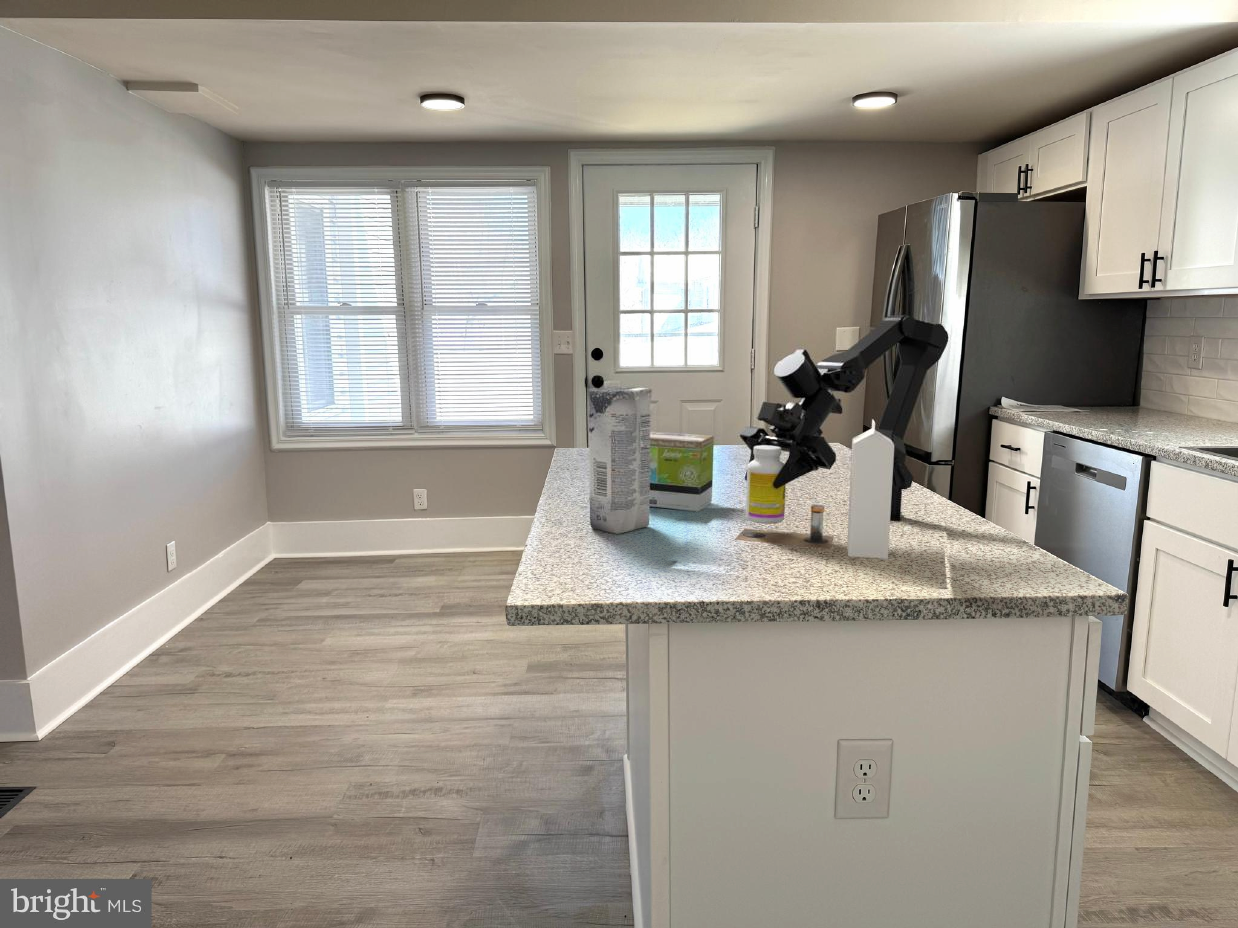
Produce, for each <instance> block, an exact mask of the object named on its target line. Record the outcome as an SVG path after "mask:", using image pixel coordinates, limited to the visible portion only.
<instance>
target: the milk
mask: <svg viewBox="0 0 1238 928" xmlns="http://www.w3.org/2000/svg"><path fill="white" fill-rule="evenodd" d="M850 456H851V458H850V460H851V461H850V476H849V477H850V481H849V503H848V520H847V521H848V523H847V541H846V549H847V556H848V557H855V558H871V559H885V560H886V559H889V547H890V545H889V544H890V529H891V527H890V526H891V520H890V512H891V495H892V477H893V459H894V444H893V442H892V441H891V439H889V438H887V437H886V436H884V435H882V434H881V433H879V432H877V430H876V422H875V420H874V419H871V428H870V429H868V430H866V431H864V432H862V433H861V434H859V435H856V436H854V437H853V438H852V439H851V455H850Z"/></svg>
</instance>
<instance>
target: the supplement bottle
mask: <svg viewBox="0 0 1238 928" xmlns="http://www.w3.org/2000/svg"><path fill="white" fill-rule="evenodd" d="M753 453H754V456H755V458H754V460H753V461H751V462H750V463H749V462H748V464H747V467H746V471H747V481H746V497H745V518H746V519H747V520H748V521H749V522H752V523H754V524H755V523H757V524H764V525H767V524H771V525H772V524H779V523H781V522H783V521H784V519H785V512H786V511H785V510H786V509H785V508H786V507H785V506H786V489H787V487H786V485H787V484H785V485H783V486H781V487H780V488H778V489H776V488H774V486H773V483H774V481H775V479H776V477H777V475H778V474H779V472H780V471H781V469H782V467H783V466H784V464H785V463H784V462H783V461H781V460H780V457H781V455H782V450H781V447H777V446H767V445H762V446H755V447H754V451H753Z"/></svg>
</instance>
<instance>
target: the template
mask: <svg viewBox="0 0 1238 928" xmlns="http://www.w3.org/2000/svg"><path fill="white" fill-rule="evenodd" d="M834 538H835V536H834V535H823V536H822V541H821V542H814V541H810V533H799V532H787V531H776V530H775V531H774V530H764V529H754V528H753V529H752V528H744V529H742V531H741V532H740V533H739V534H738V535H737V536H736V537H735V538H734V540H737V541H748V542H758V543H767V544H769V543H770V544H780V545H790V546H791V545H793V546H799V547H801V546H803V547H811V548H812V547H813V548H823V549H829V548H830V546H831V544H832V543H833V539H834Z"/></svg>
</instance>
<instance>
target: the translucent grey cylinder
mask: <svg viewBox="0 0 1238 928" xmlns="http://www.w3.org/2000/svg"><path fill="white" fill-rule="evenodd" d="M824 513H825V506H824V505H823V504H819V503H818V504H817V503H815V504H811V506H810V529H809V530H810V531H809V534H810V541H814V542H821V541H822V536H823V534H824V533H823V531H824Z"/></svg>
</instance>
